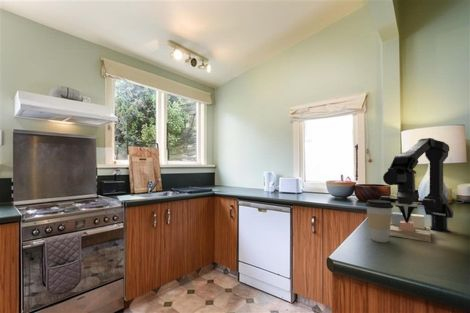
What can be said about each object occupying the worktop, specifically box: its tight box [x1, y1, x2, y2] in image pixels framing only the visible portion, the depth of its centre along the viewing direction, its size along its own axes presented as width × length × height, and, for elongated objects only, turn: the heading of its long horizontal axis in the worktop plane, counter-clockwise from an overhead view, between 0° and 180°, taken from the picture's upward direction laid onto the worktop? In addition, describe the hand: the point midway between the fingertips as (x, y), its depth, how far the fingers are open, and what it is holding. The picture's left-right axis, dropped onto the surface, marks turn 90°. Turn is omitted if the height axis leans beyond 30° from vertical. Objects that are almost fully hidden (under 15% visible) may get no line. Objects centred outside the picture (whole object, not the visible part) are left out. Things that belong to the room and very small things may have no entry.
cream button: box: [410, 213, 426, 229], centre depth 103 cm, size 4×4×5 cm
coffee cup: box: [364, 199, 394, 243], centre depth 93 cm, size 9×9×15 cm
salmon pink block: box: [400, 221, 414, 232], centre depth 99 cm, size 4×4×5 cm
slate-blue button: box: [391, 211, 405, 226], centre depth 108 cm, size 4×4×5 cm
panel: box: [389, 221, 432, 243], centre depth 102 cm, size 16×15×2 cm
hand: (406, 222), depth 99 cm, fingers closed, pressing on salmon pink block
